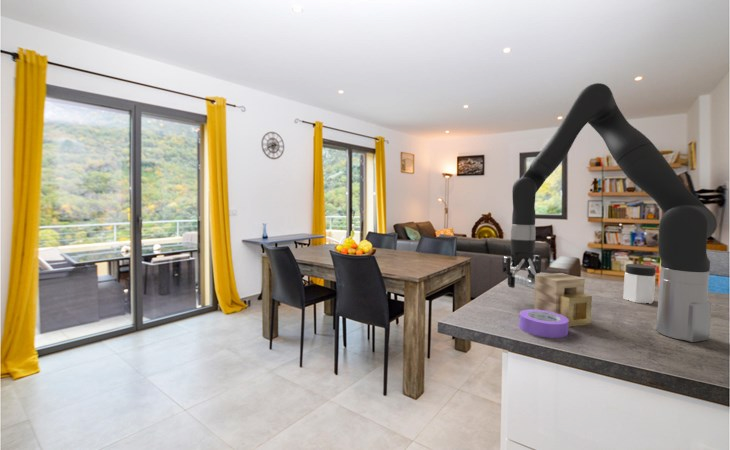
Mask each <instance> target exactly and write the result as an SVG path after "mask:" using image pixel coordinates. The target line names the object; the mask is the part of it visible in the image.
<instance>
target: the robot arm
mask: <svg viewBox="0 0 730 450" xmlns="http://www.w3.org/2000/svg"><path fill="white" fill-rule="evenodd" d="M586 124H589V126H591V128H593V129H594V130H595V132H596V133H597V134H598V135H599V137H601V138H602V140H603V142H604V143H605V146H606V148H607V150H608V151H609V154H610V155H611V156H612V158H613V160H614V161H615V163H616V164H617V165H618V167H619V168H620V169H621V171H622V173H624V175H625V176H626V177H627V178H628V179H629V180H630V181H631V182H632V183H633V184H634V185H635V186H636V187H638V188H639V189H640V190H642V191H643V192H644V193H645V194H647V195H649V197H651V199H653V200H654V201H655V203H656V204H657V205H658V206H659V208H660V210H661V211H662V213H663V214H662V216H661V218H660V221H659V225H658V226H659V227H658V256H659V258H660V270H659V283H658V284H659V285H658V286H659V287H658V297H657V298H658V301H657V314H656V315H657V317H656V331H657V332H658V333H659V334H661V335H663V336H666V337H669V338H673V339H677V340H683V341H687V342H690V343H696V342H701V341H702V342H703V341H708V340H710V329H711V319H712V318H711V316H712V303H713V302H711V301H709V300H708V296H709V295H708V293H709V281H710V280H709V279H710V268H711V260H710V259H709V257H708V254H707V247H708V246H707V243H708V242H707V241H708V238H710V237H711V236H713V235H714V234H715V232H716V230H717V228H718V227H717V226H718V221H717V218H716V216H715V214H714V212H712V210H710V209H709V208H708V206H706V205H705V204H704V203H703V202H702V201H700V199H699V198H698V197H696V196H695V195H694V194H693V192H692V191H690V190H689V189H688V187H687V186H686V185H685V184H684V183H683V181H682V180H681V178H680V177H679V176H678V174H677V173H676V171H675V170H674V169H673V167H672V166H671V165H670V164H669V162H668V160H667V159H666V158H665V157H664V155H663V154H662V153H661V151H660V150H659V149H658V148H657V147H656V145H655V144H654V143H653V142H652V141H651V140H650V139H649V138H648V137H647V136H646V135H645V134H643V133H642V132H641V131H640V130H639V129H637V128H636V127H634V126H633V125H631V124H630V122H629V121H628V120H627V119H626V118H625V116H624V114H623V113H622V110H620V108H619V107H618V105H617V102H616V99H615V97H614V95H613V92H612V90H611V89H610V87H609V85H607V84H604V83H599V82H596V83H592V84H589V85H587V86H586V87H585V88H583V89H582V90H581V91H580V93H578V95H577V97H576V98H575V100H574V102H573V103H572V105H571V107H570V109H569V111H568V112H567V113H566V115H565V117H564V119H563V120H562V121H561V123H560V125H559V126H558V127H557V129H556V130H555V132H554V133H553V135H552V136H551V138H549V140H548V142H546V143H545V145H544V146H543V148H542V149H541V150H540V152H539V153H538V154H537V155H536V157H535V158H534V159H533V161H532V162H531V164H530V166H529V168H528V169H527V170H526V171H525V173H523V175H522V176H521V177H519V178H518V179H516V180H515V181H514V183H513V186H512V196H511V197H512V217H511V220H512V221H511V230H510V246H509V247H510V249H509V250H510V252H511V254H510V256H505V255H504V256H502V271H501V272H502V274H503V275H506V276H507V285H508V287H509V288H512V289H514V288H515V287H516V286H515V285H516V283H515V277H514V276H515V275H516V274H517V273H518V272H519V271H520V270H522V269H525V270H526V272H527V277H528V278H531V279H535V275H538V274H540V273H541V271H542V269H541V268H542V256H541V255H538V254H534V253H535V252H536V234H537V233H536V209H535V207H536V195H537V192H538V191H539V190H540V188H541V187H542V186H543V184H544V183H545V181H546V180H547V179H548V178H549V177H550V176H551V175H552V174H553V173H554V171H556V170H557V168H558V167H559V166H560V164H561V163H562V162H563V161H564V159H565V158H566V157H567V155H568V154H569V151H570V150H571V148H572V146H573V144H574V142H575V140H576V139H577V137H578V135H579V134H580V133H581V131H582V130H583V128H584V127H585V125H586Z"/></svg>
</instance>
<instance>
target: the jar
mask: <svg viewBox="0 0 730 450" xmlns="http://www.w3.org/2000/svg"><path fill="white" fill-rule="evenodd" d="M656 273H657V269H656V267H655V266H652V265H647V264H638V263H627V264H626V265H625V272H624V280H623V298H622V299H623V300H625V301H628V300H629V302H632V303H635V302H636V304H646V303H649V304H648V305H651V304H653V303H654V300H655V289H656Z"/></svg>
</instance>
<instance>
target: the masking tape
mask: <svg viewBox="0 0 730 450" xmlns="http://www.w3.org/2000/svg"><path fill="white" fill-rule="evenodd" d="M518 321H519V322H518V323H519V324H518V327H519V328H520V330H522V331H524V332H525V333H528V334H530V335H533V336H535V337H540V338H541V337H542V338H550V339H551V338H552V339H556V338H557V339H559V338H564V337H567V336H568V334H569V327H568V325H569V320H568V318H566V317H565V316H563V315H560V314H557V313H554V312H550V311H544V310H534V308H533V309H523V310H521V311H520V312H519V320H518Z"/></svg>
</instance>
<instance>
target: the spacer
mask: <svg viewBox="0 0 730 450" xmlns="http://www.w3.org/2000/svg"><path fill="white" fill-rule="evenodd" d="M592 298H593V296H592V295H591V294H586V293H585V292H584V293H579V294H568V295H560V309H559V314H560V315H563V316H565V317H566V318H568V320H569V325H568V328H569V327H577V326H584V325H590V324H591V321H592V320H591V318H592V303H593V301H592V300H593V299H592ZM574 304H577V315H574V316H573V309H574Z"/></svg>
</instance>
